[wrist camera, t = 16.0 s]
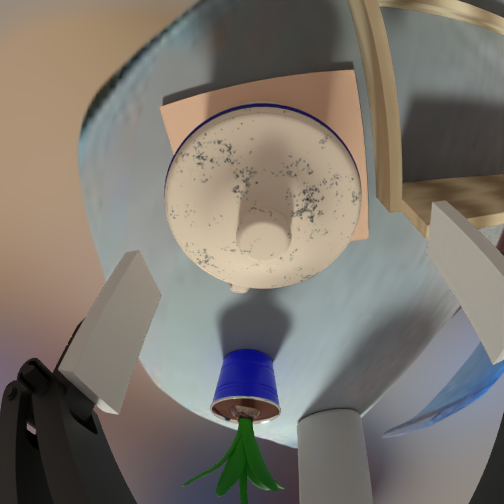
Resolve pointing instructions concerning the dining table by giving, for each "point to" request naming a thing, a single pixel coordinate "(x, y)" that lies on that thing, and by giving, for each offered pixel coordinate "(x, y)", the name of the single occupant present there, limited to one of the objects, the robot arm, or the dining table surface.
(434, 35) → the dining table surface
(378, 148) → the frame
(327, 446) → the cylinder vase
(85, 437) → the robot arm
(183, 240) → the teacup with lid
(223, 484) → the hyacinth
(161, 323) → the dining table surface
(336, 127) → the terracotta tile
